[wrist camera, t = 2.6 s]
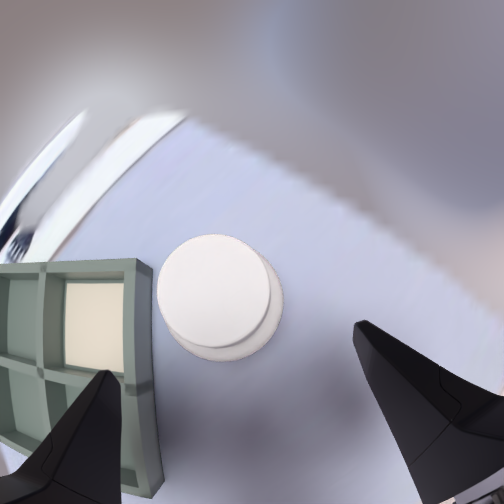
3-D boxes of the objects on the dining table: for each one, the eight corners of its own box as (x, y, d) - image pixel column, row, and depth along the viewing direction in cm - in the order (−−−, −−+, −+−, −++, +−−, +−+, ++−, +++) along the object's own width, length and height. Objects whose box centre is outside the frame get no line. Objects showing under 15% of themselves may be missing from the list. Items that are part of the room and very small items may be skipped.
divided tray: (164, 481, 15) (151, 498, 12) (16, 434, 15) (-4, 439, 12) (152, 269, 20) (136, 258, 17) (9, 272, 20) (-11, 264, 17)
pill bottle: (193, 352, 18) (133, 365, 9) (194, 273, 20) (141, 218, 10) (275, 352, 18) (293, 370, 9) (273, 272, 20) (287, 213, 10)
